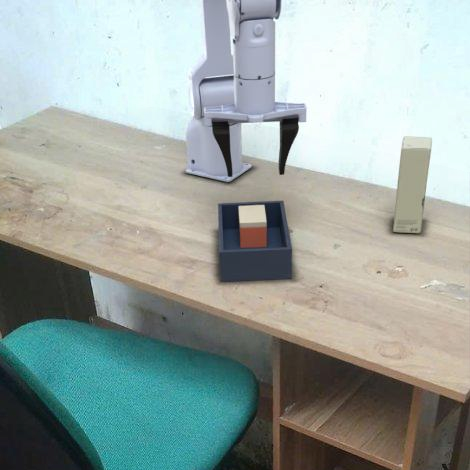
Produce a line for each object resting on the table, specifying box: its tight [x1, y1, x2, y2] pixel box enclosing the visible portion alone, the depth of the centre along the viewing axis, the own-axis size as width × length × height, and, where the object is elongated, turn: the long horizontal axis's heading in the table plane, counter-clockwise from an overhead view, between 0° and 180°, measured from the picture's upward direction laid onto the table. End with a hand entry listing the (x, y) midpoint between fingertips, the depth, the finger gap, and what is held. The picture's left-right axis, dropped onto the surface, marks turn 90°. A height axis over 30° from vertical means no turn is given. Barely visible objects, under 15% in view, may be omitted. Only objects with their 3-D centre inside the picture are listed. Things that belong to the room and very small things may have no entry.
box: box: [392, 135, 433, 234], centre depth 121 cm, size 5×4×13 cm
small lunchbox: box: [238, 205, 267, 248], centre depth 121 cm, size 6×4×4 cm, turn 2°
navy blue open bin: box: [217, 200, 293, 283], centre depth 119 cm, size 16×10×5 cm, turn 2°
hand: (255, 173), depth 119 cm, fingers open, 7 cm apart
